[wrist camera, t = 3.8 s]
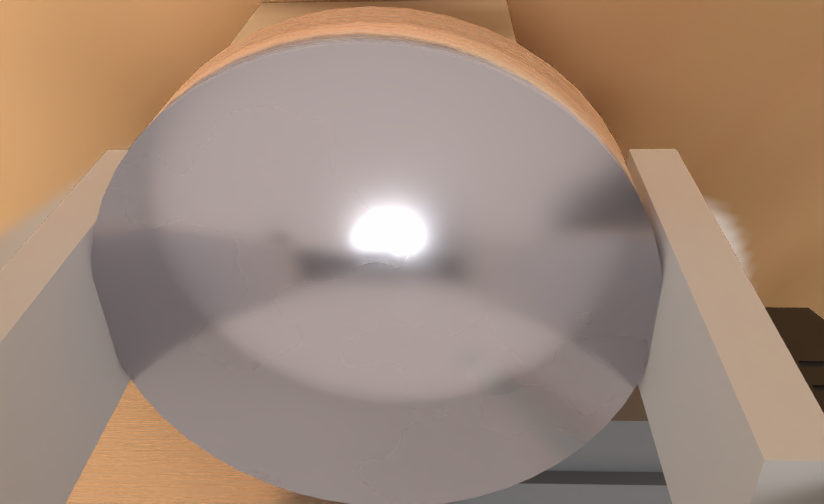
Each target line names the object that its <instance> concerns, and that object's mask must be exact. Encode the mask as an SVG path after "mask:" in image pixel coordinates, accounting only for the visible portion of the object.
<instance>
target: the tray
mask: <svg viewBox="0 0 824 504" xmlns="http://www.w3.org/2000/svg"><path fill="white" fill-rule="evenodd" d="M443 504H672V501H671V498H670V495H669V491H668V488H667V484H666V481H665V477H664V474H663V470H662V467H661V463H660V460H659V456H658V453H657V449H656V446H655V442H654V439H653V435H652V432H651V428H650V425H649V421H648V418H647V414H646V411H645V407H644V404H643V400H642V397H641V393H640V390H639V386H638V384H637V385H636V387H635V388H634V390H633V391H632V393H631V395H630V396H629V398H628V399H627V401H626V402H625V404H624V405H623V406H622V408H621V409H620V410H619V411H618V412H617V413H616V415H615V416H614V417H613V418H612V419H611V420H610V421H609V423H608V424H607V425H606V426H605V427H604V428H603V429H602V430H601V431H600V432H599V433H597V434H596V435H595V436H594V437H593V438H592V439H591V440H590V441H588V442H587V443H586V444H585V445H584V446H583V447H581V448H580V449H578V450H577V451H576V452H574V453H573V454H571V455H570V456H568V457H567V458H566V459H564V460H563V461H561V462H560V463H558V464H556V465H554V466H553V467H551V468H549V469H547V470H545V471H543V472H542V473H540V474H538V475H536V476H534V477H532V478H530V479H527V480H525V481H522V482H520V483H518V484H515V485H513V486H510V487H508V488H505V489H502V490H499V491H495V492H492V493H489V494H485V495H482V496H479V497H475V498H470V499H465V500H460V501H455V502H450V503H443Z"/></svg>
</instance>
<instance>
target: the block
mask: <svg viewBox="0 0 824 504" xmlns="http://www.w3.org/2000/svg"><path fill="white" fill-rule="evenodd" d="M366 6H375V7H393V8H410V9H415V10H420V11H426V12H431V13H436V14H442V15H447V16H450V17H454V18H457V19H460V20H463V21H466V22H469V23H472V24H475V25H478V26H481V27H484V28H486V29H488V30H491V31H493V32H495V33H497V34H499V35H501V36H503V37H505V38H507V39H509V40H511V41H513V42H515V43H517V42H516V38H515V34H514V30H513V26H512V22H511V17H510V13H509V9H508V5H507V1H506V0H407V1H342V2H278V3H261V4H260V5H259V7H258V8H257V9H256V11H255V12H254V13H253V15H252V16H251V17H250V19H249V20H248V21H247V23H246V24H245V25H244V27H243V28H242V29H241V31H240V32H239V33H238V35H237V36H236V37H235V39H234V40H233V41H232V43H231V44H230V45H232V44H234V43H236V42H238V41H239V40H241V39H243V38H245V37H247V36H249V35H250V34H252V33H254V32H256V31H258V30H260V29H263V28H266V27H268V26H271V25H274V24H277V23H279V22H282V21H285V20H287V19H290V18H293V17H297V16H302V15H306V14H311V13H316V12H320V11H325V10H329V9H340V8H353V7H366ZM230 45H229V46H230Z"/></svg>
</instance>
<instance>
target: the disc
mask: <svg viewBox="0 0 824 504" xmlns="http://www.w3.org/2000/svg"><path fill="white" fill-rule="evenodd" d="M91 261H92V275H93V280H94V284H95V287H96V290H97V293H98V297H99V300H100V303H101V306H102V310H103V313H104V316H105V319H106V323H107V326H108V329H109V332H110V336H111V339H112V342H113V345H114V349H115V352H116V355H117V358H118V360H119V361H120V363H121V365H122V367H123V368H124V370H125V372H126V374H127V375H128V376H129V378H130V379H131V380H132V382H133V383H134V384H135V386H136V387H137V388H138V390H139V391H140V392H141V394H142V395H143V397H144V398H145V399H146V400H147V401H148V402H149V403H150V404H151V405H152V406H153V407H154V408H155V409H156V410H157V411H158V413H159V414H160V415H161V416H162V417H163V418H164V419H165V420H166V421H168V422H169V423H170V424H171V425H172V426H173V427H175V428H176V429H177V430H178V431H179V432H180V433H182V434H183V435H184V436H185V437H186V438H187V439H189V440H190V441H192V442H193V443H195V444H196V445H198V446H199V447H200V448H202V449H203V450H205V451H206V452H208V453H209V454H211V455H212V456H214V457H216V458H217V459H219V460H221V461H223V462H224V463H226V464H228V465H230V466H232V467H233V468H235V469H237V470H239V471H241V472H243V473H246V474H248V475H250V476H252V477H255V478H257V479H259V480H261V481H264V482H266V483H269V484H272V485H275V486H277V487H280V488H283V489H286V490H289V491H292V492H295V493H299V494H303V495H307V496H311V497H315V498H319V499H323V500H329V501H335V502H342V503H348V504H443V503H450V502H455V501H460V500H465V499H470V498H475V497H479V496H482V495H485V494H489V493H492V492H495V491H499V490H502V489H505V488H508V487H510V486H513V485H515V484H518V483H520V482H522V481H525V480H527V479H530V478H532V477H534V476H536V475H538V474H540V473H542V472H543V471H545V470H547V469H549V468H551V467H553V466H554V465H556V464H558V463H560V462H561V461H563V460H564V459H566V458H567V457H568V456H570V455H571V454H573V453H574V452H576V451H577V450H578V449H580V448H581V447H583V446H584V445H585V444H586V443H587V442H588V441H590V440H591V439H592V438H593V437H594V436H595V435H596V434H597V433H599V432H600V431H601V430H602V429H603V428H604V427H605V426H606V425H607V424H608V423H609V421H610V420H611V419H612V418H613V417H614V416H615V415H616V413H617V412H618V411H619V410H620V409H621V408H622V406H623V405H624V404H625V402H626V401H627V399H628V398H629V396H630V395H631V393H632V391H633V390H634V388H635V387H636V385H637V384H638V382H639V381H640V379H641V376H642V374H643V372H644V370H645V368H646V365H647V363H648V358H649V353H650V347H651V342H652V337H653V331H654V326H655V321H656V315H657V310H658V304H659V299H660V294H661V288H662V272H661V261H660V257H659V253H658V248H657V244H656V240H655V235H654V231H653V229H652V226H651V224H650V221H649V219H648V216H647V214H646V212H645V209H644V207H643V204H642V202H641V200H640V197H639V195H638V192H637V190H636V187H635V185H634V183H633V180H632V178H631V175H630V173H629V170H628V168H627V166H626V163H625V161H624V158H623V156H622V154H621V151H620V149H619V146H618V144H617V143H616V141H615V139H614V138H613V136H612V134H611V133H610V131H609V129H608V128H607V126H606V125H605V123H604V121H603V120H602V118H601V116H600V115H599V114H598V113H597V112H596V110H595V109H594V108H593V107H592V106H591V104H590V103H589V102H588V101H587V100H586V98H585V97H584V96H583V95H582V94H581V92H580V91H579V90H578V89H577V88H576V87H575V86H573V85H572V84H571V83H570V82H569V81H568V80H567V79H566V78H564V77H563V76H562V75H561V74H560V73H559V72H558V71H557V70H556V69H554V68H553V67H552V66H551V65H549V64H548V63H546V62H545V61H543V60H542V59H540V58H539V57H538V56H536V55H535V54H533V53H532V52H530V51H529V50H527V49H526V48H524V47H523V46H521V45H519V44H517V43H515V42H513V41H511V40H509V39H507V38H505V37H503V36H501V35H499V34H497V33H495V32H493V31H491V30H488V29H486V28H484V27H481V26H478V25H475V24H472V23H469V22H466V21H463V20H460V19H457V18H454V17H450V16H447V15H442V14H436V13H431V12H426V11H420V10H415V9H410V8H393V7H375V6H366V7H353V8H340V9H329V10H325V11H320V12H316V13H311V14H306V15H302V16H297V17H293V18H290V19H287V20H285V21H282V22H279V23H277V24H274V25H271V26H268V27H266V28H263V29H260V30H258V31H256V32H254V33H252V34H250V35H249V36H247V37H245V38H243V39H241V40H239V41H238V42H236V43H234V44H232V45H230V46H228V47H227V48H225V49H224V50H223V51H221V52H220V53H219V54H217V55H216V56H215V57H213V58H212V59H211V60H209V61H208V62H207V63H205V64H204V65H203V66H201V67H200V68H199V69H198V70H197V71H196V72H195V73H194V74H193V75H192V76H191V77H190V78H189V79H188V80H187V81H186V82H185V83H184V84H183V85H182V86H181V87H180V89H179V90H178V91H177V92H176V93H175V94H174V95H173V96H172V97H171V99H170V100H169V101H168V102H167V103H166V105H165V106H164V107H163V108H162V109H161V110H160V112H159V113H158V114H157V115H156V116H155V118H154V119H153V120H152V121H151V122H150V123H149V125H148V126H147V127H146V128H145V129H144V131H143V132H142V133H141V134H140V135H139V136H138V138H137V139H136V140H135V142H134V143H133V144H132V146H131V147H130V149H129V150H128V152H127V153H126V155H125V156H124V158H123V159H122V160H121V162H120V163H119V165H118V166H117V168H116V170H115V172H114V174H113V176H112V178H111V180H110V183H109V185H108V187H107V189H106V191H105V193H104V196H103V198H102V201H101V205H100V209H99V213H98V216H97V220H96V224H95V228H94V236H93V247H92V258H91Z"/></svg>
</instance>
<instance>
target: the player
mask: <svg viewBox="0 0 824 504" xmlns="http://www.w3.org/2000/svg"><path fill="white" fill-rule="evenodd" d="M65 504H348V503H342V502H335V501H329V500H323V499H319V498H315V497H311V496H307V495H303V494H299V493H295V492H292V491H289V490H286V489H283V488H280V487H277V486H275V485H272V484H269V483H266V482H264V481H261V480H259V479H257V478H255V477H252V476H250V475H248V474H246V473H243V472H241V471H239V470H237V469H235V468H233V467H232V466H230V465H228V464H226V463H224V462H223V461H221V460H219V459H217V458H216V457H214V456H212V455H211V454H209V453H208V452H206V451H205V450H203V449H202V448H200V447H199V446H198V445H196V444H195V443H193V442H192V441H190V440H189V439H187V438H186V437H185V436H184V435H183V434H182V433H180V432H179V431H178V430H177V429H176V428H175V427H173V426H172V425H171V424H170V423H169V422H168V421H166V420H165V419H164V418H163V417H162V416H161V415H160V414H159V413H158V411H157V410H156V409H155V408H154V407H153V406H152V405H151V404H150V403H149V402H148V401H147V400H146V399H145V398H144V397H143V395H142V394H141V392H140V391H139V390H138V388H137V387H136V386H135V384H134V383H133V382H132V380H130V382H129V384H128V386H127V388H126V389H125V391H124V393H123V395H122V397H121V399H120V401H119V403H118V405H117V407H116V408H115V410H114V412H113V414H112V416H111V418H110V420H109V422H108V424H107V426H106V427H105V429H104V431H103V433H102V435H101V437H100V439H99V441H98V443H97V445H96V446H95V448H94V450H93V452H92V454H91V456H90V458H89V460H88V462H87V464H86V465H85V467H84V469H83V471H82V473H81V475H80V477H79V479H78V481H77V483H76V484H75V486H74V488H73V490H72V492H71V494H70V496H69V498H68V500H67V502H66V503H65Z"/></svg>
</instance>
